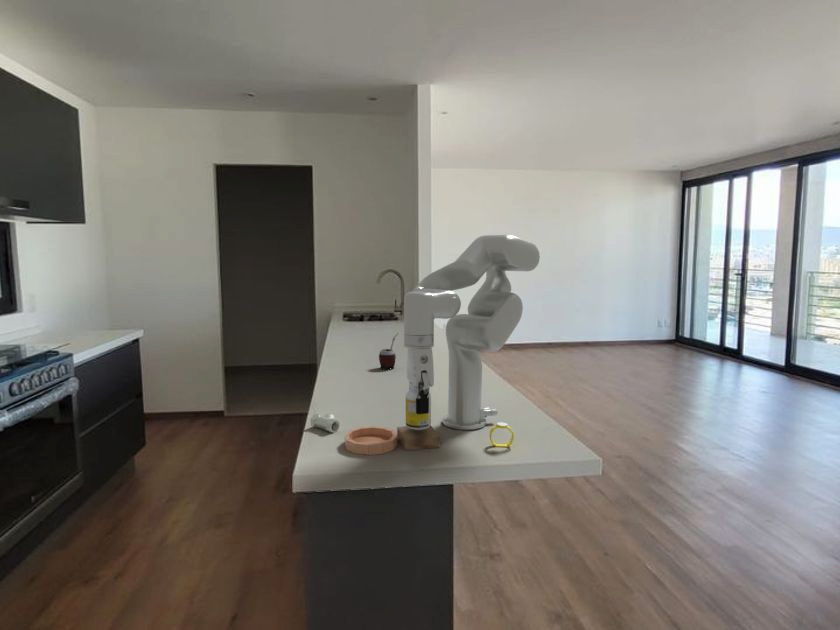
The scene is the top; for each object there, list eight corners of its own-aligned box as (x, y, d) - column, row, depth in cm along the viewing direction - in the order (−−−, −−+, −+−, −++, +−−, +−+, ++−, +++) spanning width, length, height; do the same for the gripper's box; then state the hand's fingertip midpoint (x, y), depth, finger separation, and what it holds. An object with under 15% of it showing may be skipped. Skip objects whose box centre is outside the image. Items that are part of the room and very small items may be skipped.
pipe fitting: (327, 424, 147) (310, 428, 141) (328, 410, 147) (310, 414, 141) (347, 429, 142) (330, 434, 137) (348, 416, 142) (330, 420, 136)
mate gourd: (376, 370, 214) (376, 334, 212) (382, 366, 221) (382, 332, 219) (394, 370, 212) (394, 335, 210) (398, 366, 220) (398, 332, 218)
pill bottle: (418, 420, 135) (418, 378, 134) (436, 426, 131) (436, 382, 129) (400, 426, 131) (400, 382, 129) (417, 432, 126) (417, 387, 125)
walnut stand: (429, 435, 137) (429, 424, 136) (439, 447, 128) (439, 435, 128) (397, 438, 134) (397, 427, 134) (405, 450, 126) (405, 438, 125)
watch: (511, 445, 130) (514, 423, 130) (513, 449, 128) (515, 427, 127) (488, 443, 131) (490, 421, 130) (489, 447, 128) (491, 424, 127)
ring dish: (390, 433, 137) (390, 424, 137) (401, 451, 125) (401, 441, 125) (342, 438, 134) (342, 428, 134) (348, 456, 121) (348, 446, 121)
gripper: (443, 345, 121) (442, 418, 123) (423, 334, 137) (423, 398, 139) (413, 347, 119) (412, 421, 121) (396, 335, 135) (396, 400, 137)
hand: (418, 408), depth 130 cm, fingers closed on pill bottle, 6 cm apart
